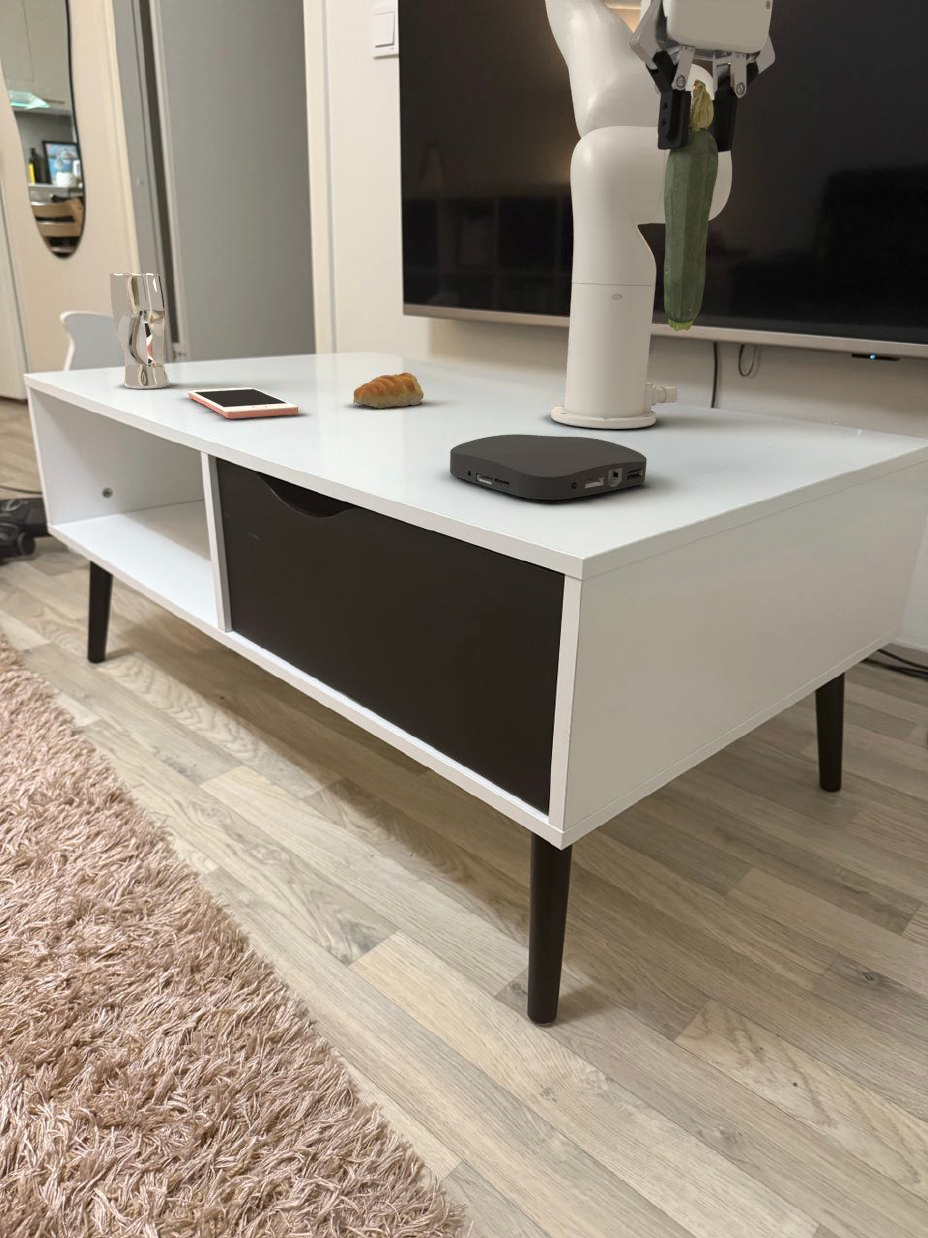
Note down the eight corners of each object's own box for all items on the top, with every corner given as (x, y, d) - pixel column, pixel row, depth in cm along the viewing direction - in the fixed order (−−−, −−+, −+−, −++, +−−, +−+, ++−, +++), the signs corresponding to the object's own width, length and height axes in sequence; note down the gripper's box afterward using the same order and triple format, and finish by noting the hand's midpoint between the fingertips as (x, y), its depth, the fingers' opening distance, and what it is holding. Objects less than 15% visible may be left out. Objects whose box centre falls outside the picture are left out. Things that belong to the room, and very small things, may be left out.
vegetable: (700, 334, 79) (730, 71, 72) (650, 332, 80) (674, 71, 72) (698, 330, 83) (726, 80, 76) (650, 329, 84) (674, 81, 76)
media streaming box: (549, 455, 91) (550, 425, 89) (663, 484, 80) (666, 450, 79) (432, 473, 82) (432, 440, 81) (542, 509, 71) (544, 471, 70)
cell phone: (227, 419, 105) (226, 411, 104) (187, 397, 119) (186, 390, 119) (299, 414, 109) (299, 406, 109) (252, 393, 123) (252, 386, 123)
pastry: (376, 411, 113) (376, 380, 111) (340, 405, 117) (339, 375, 115) (427, 403, 119) (427, 373, 118) (391, 398, 123) (391, 369, 122)
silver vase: (111, 388, 126) (97, 273, 121) (136, 381, 133) (124, 272, 127) (158, 390, 125) (146, 274, 120) (181, 383, 132) (170, 273, 126)
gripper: (771, -86, 76) (741, 159, 83) (602, -123, 69) (585, 147, 76) (840, -115, 69) (801, 152, 76) (662, -159, 63) (638, 139, 70)
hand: (694, 147), depth 76 cm, fingers closed on vegetable, 4 cm apart
